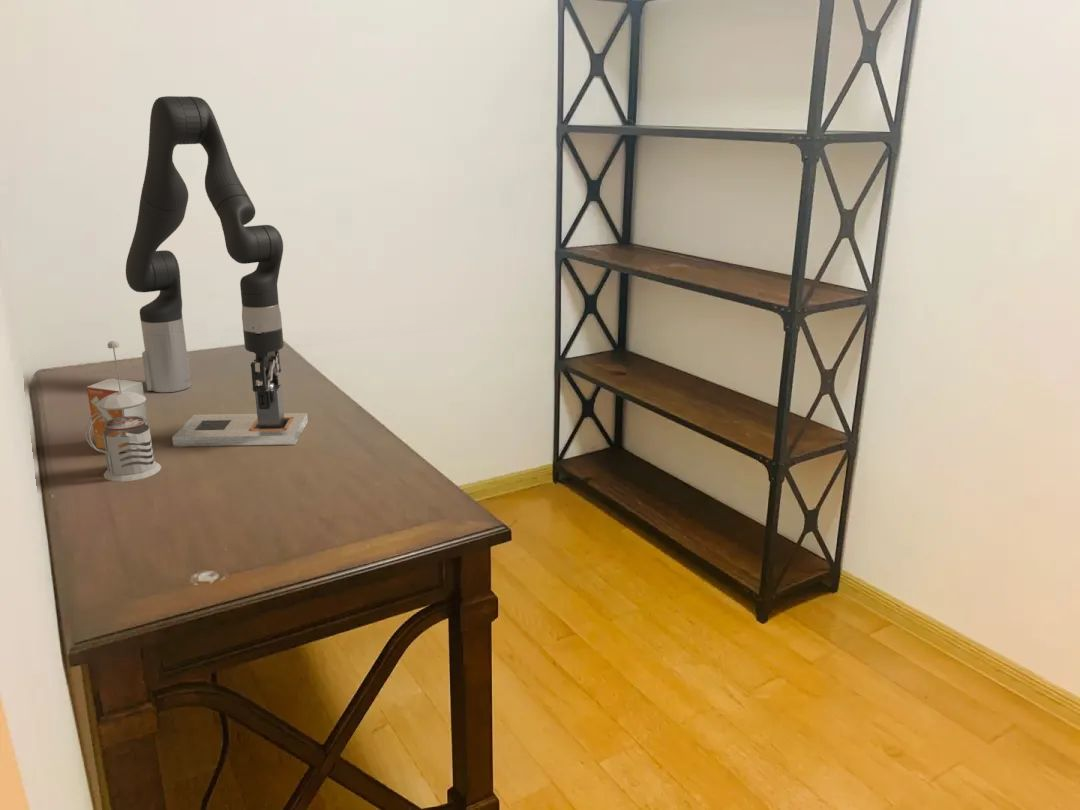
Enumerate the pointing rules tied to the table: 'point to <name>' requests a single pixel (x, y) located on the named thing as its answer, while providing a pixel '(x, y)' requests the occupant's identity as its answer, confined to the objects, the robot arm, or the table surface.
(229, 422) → the rail plate
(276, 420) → the block with round knob
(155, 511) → the table surface
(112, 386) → the small box
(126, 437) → the french press
